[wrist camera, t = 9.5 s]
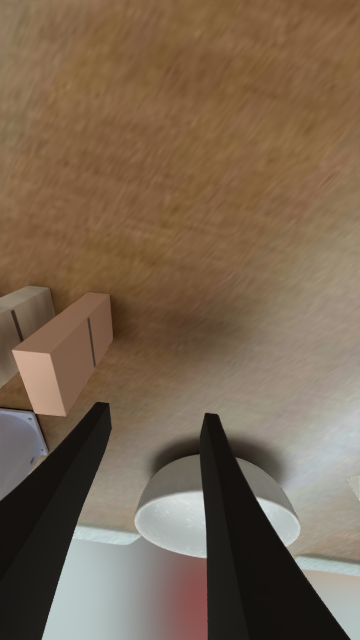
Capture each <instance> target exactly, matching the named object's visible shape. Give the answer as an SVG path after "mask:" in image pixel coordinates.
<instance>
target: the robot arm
mask: <svg viewBox="0 0 360 640" xmlns="http://www.w3.org/2000/svg"><path fill="white" fill-rule="evenodd" d="M111 429H112V427H111V417H110V407H109V403H103V402H96V403H95V404H94V405H93V407H92V408H91V409H90V410H89V412H88V413H87V414H86V415H85V416H84V418H83V419H82V420H81V421H80V422H79V423H78V425H77V426H76V427H75V428H74V429H73V430H72V431H71V432H70V433H69V435H68V436H67V437H66V438H65V439H64V440H63V441H62V442H61V443H60V444H59V445H58V447H57V448H56V449H55V450H54V451H53V452H52V453H51V454H50V455H49V456H48V457H47V458H46V459H45V460H44V461H43V462H42V463H41V464H40V465H39V466H38V467H37V468H36V469H35V470H34V471H33V472H32V473H31V474H29V473H30V471H31V469H32V468H33V466H34V465H35V463H36V461H37V460H38V458H39V456H40V455H47V454H48V449H47V447H46V444H45V441H44V438H43V436H42V433H41V430H40V427H39V424H38V422H37V419H36V416H35V414H34V413H33V412H31V411H21V410H11V409H1V408H0V640H42V636H43V633H44V629H45V625H46V622H47V619H48V615H49V611H50V608H51V605H52V602H53V598H54V595H55V591H56V588H57V585H58V581H59V578H60V575H61V571H62V568H63V565H64V562H65V559H66V555H67V552H68V549H69V546H70V543H71V540H72V537H73V534H74V530H75V527H76V524H77V521H78V518H79V515H80V513H81V510H82V507H83V504H84V502H85V499H86V497H87V495H88V492H89V490H90V487H91V485H92V482H93V480H94V477H95V475H96V472H97V470H98V467H99V465H100V462H101V460H102V457H103V455H104V452H105V449H106V446H107V443H108V440H109V436H110V433H111ZM200 468H201V479H202V489H203V500H204V510H205V523H206V551H207V603H208V604H207V607H208V640H351V639H350V638H349V637H348V635H347V634H346V633H345V631H344V630H343V629H342V627H341V626H340V625H339V623H338V622H337V621H336V619H335V618H334V616H333V615H332V614H331V612H330V611H329V609H328V608H327V607H326V605H325V604H324V602H323V601H322V600H321V598H320V597H319V595H318V594H317V593H316V591H315V590H314V588H313V587H312V585H311V584H310V583H309V581H308V580H307V578H306V577H305V575H304V574H303V572H302V571H301V569H300V568H299V566H298V565H297V563H296V562H295V560H294V559H293V557H292V556H291V554H290V553H289V551H288V550H287V548H286V547H285V545H284V543H283V542H282V540H281V539H280V537H279V536H278V534H277V533H276V531H275V529H274V528H273V526H272V524H271V523H270V521H269V519H268V518H267V516H266V514H265V513H264V511H263V509H262V507H261V506H260V504H259V502H258V500H257V499H256V497H255V495H254V493H253V491H252V490H251V488H250V486H249V484H248V482H247V480H246V478H245V476H244V474H243V472H242V470H241V468H240V466H239V464H238V462H237V460H236V457H235V455H234V453H233V451H232V449H231V446H230V444H229V442H228V439H227V437H226V434H225V432H224V429H223V427H222V424H221V421H220V418H219V416H218V415H217V414H211V413H205V416H204V421H203V425H202V429H201V434H200ZM28 474H29V475H28Z"/></svg>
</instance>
